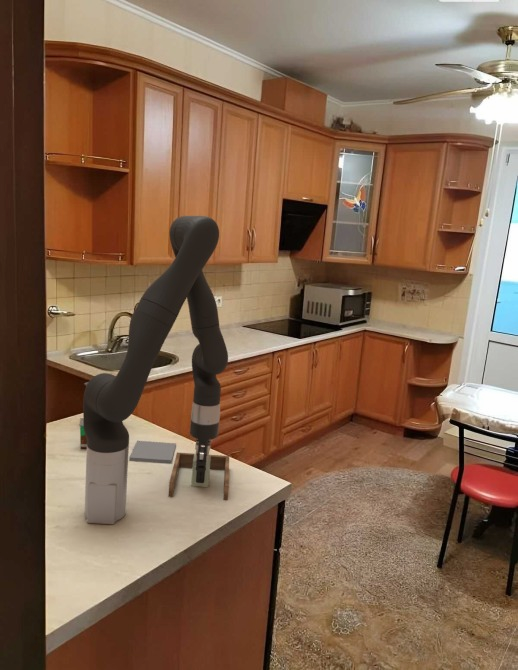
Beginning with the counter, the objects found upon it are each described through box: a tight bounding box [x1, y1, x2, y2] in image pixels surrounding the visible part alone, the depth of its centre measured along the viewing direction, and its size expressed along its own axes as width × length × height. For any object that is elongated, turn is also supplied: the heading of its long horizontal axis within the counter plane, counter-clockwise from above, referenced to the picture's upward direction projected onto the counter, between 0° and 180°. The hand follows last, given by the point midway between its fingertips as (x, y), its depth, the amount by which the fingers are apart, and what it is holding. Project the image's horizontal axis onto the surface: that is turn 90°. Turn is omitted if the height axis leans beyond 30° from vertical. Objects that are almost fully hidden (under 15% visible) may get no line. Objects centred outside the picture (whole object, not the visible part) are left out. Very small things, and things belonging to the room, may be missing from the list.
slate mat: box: [128, 440, 177, 464], centre depth 154 cm, size 12×12×1 cm
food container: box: [79, 417, 87, 450], centre depth 156 cm, size 12×6×10 cm, turn 179°
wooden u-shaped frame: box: [167, 451, 230, 501], centre depth 139 cm, size 18×15×4 cm
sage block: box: [190, 453, 212, 488], centre depth 139 cm, size 4×4×7 cm
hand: (200, 477), depth 139 cm, fingers closed on sage block, 4 cm apart
